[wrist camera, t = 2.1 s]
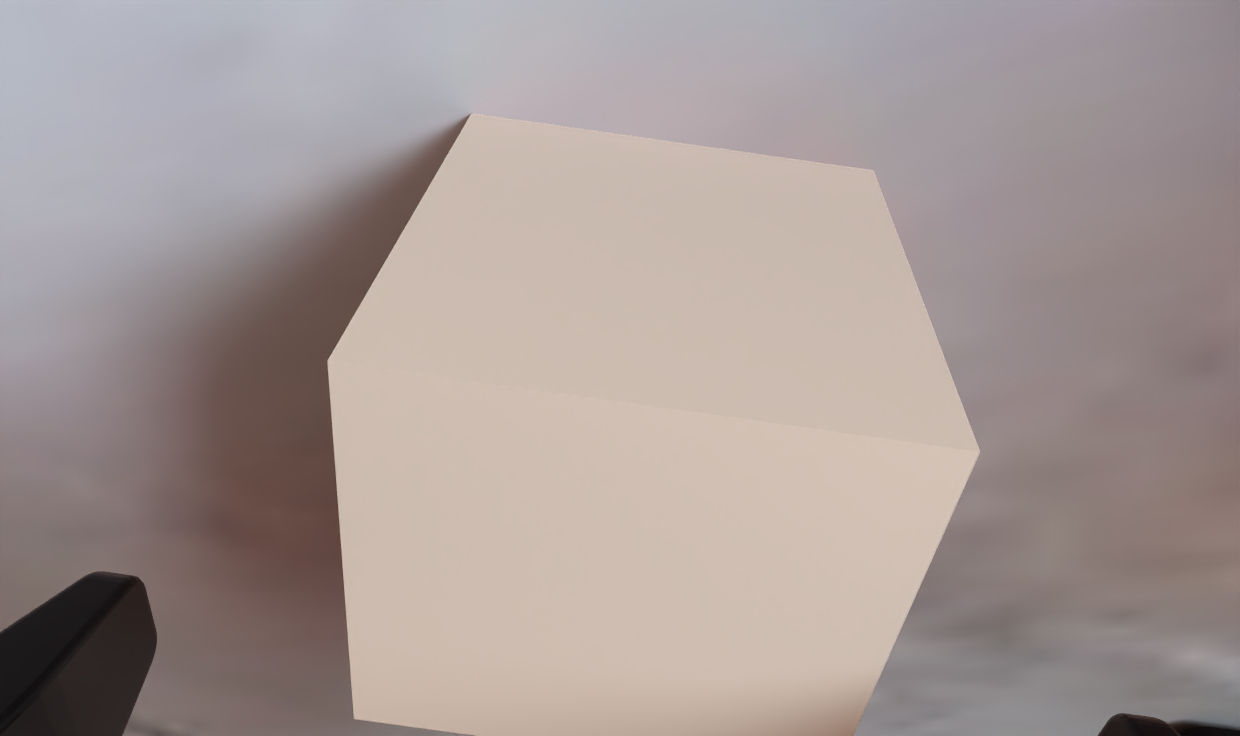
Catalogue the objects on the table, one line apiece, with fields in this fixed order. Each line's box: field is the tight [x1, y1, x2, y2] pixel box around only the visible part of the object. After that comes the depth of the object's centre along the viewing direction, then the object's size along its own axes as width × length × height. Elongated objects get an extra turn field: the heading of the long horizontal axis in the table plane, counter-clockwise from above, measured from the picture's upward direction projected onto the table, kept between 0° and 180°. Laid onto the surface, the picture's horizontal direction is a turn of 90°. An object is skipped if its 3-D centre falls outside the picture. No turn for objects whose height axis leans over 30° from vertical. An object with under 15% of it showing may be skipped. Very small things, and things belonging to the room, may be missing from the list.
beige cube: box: [327, 113, 980, 736], centre depth 12 cm, size 6×6×6 cm
